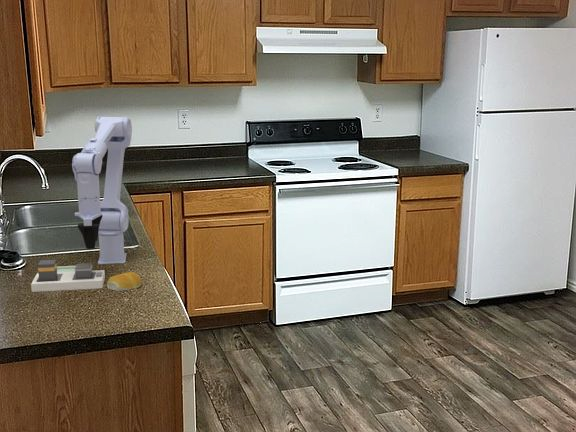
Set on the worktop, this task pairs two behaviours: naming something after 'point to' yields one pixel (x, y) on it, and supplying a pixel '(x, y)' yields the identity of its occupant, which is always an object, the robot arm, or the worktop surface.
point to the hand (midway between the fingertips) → (91, 244)
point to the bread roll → (124, 282)
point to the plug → (47, 270)
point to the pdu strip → (72, 280)
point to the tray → (66, 268)
